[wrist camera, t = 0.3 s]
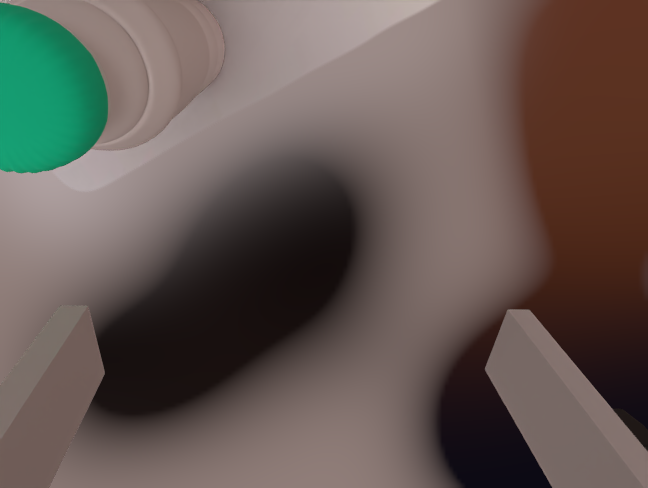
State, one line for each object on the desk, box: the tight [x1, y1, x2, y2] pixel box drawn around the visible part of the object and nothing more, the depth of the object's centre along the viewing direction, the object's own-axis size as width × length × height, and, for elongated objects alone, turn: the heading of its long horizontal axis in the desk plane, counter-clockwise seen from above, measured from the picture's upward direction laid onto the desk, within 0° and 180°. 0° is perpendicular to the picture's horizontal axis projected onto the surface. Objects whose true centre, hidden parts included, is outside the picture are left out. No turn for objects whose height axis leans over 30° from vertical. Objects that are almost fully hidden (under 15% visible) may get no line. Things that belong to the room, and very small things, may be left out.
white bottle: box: [0, 0, 225, 173], centre depth 22 cm, size 7×7×25 cm
